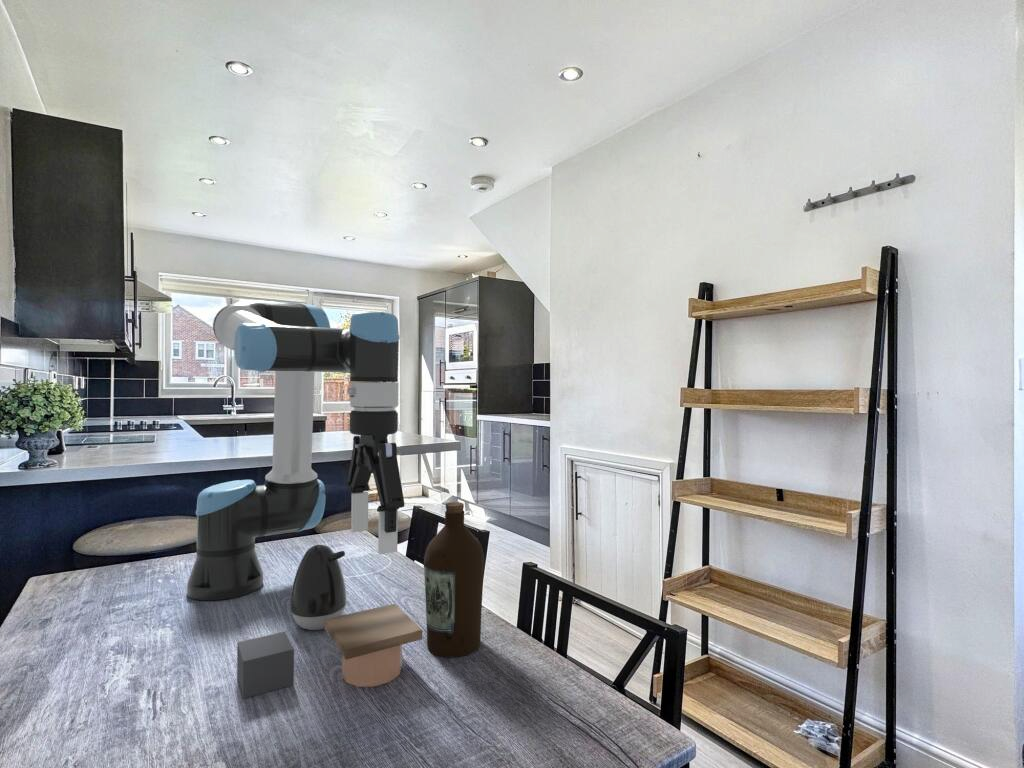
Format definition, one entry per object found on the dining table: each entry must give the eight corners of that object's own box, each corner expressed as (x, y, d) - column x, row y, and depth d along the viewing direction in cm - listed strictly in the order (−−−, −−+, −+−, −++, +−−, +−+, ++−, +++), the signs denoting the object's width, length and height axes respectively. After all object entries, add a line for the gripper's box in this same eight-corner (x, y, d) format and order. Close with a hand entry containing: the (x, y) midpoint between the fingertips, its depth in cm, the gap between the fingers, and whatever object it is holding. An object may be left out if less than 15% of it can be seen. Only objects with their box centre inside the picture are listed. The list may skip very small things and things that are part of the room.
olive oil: (451, 626, 105) (452, 495, 105) (495, 641, 98) (496, 502, 98) (410, 647, 96) (411, 505, 96) (456, 666, 90) (457, 513, 90)
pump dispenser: (329, 639, 99) (330, 555, 99) (278, 633, 101) (278, 551, 101) (356, 615, 109) (357, 539, 109) (309, 611, 111) (309, 536, 111)
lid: (324, 628, 90) (324, 619, 90) (394, 612, 96) (394, 603, 96) (345, 659, 80) (345, 649, 80) (422, 639, 86) (422, 629, 86)
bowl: (336, 666, 89) (336, 629, 89) (389, 652, 94) (389, 617, 94) (352, 692, 82) (353, 652, 82) (409, 675, 87) (409, 637, 87)
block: (237, 677, 86) (237, 642, 86) (284, 664, 90) (284, 631, 90) (243, 699, 80) (243, 661, 80) (293, 684, 84) (293, 649, 84)
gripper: (329, 405, 96) (328, 526, 97) (377, 414, 75) (376, 568, 76) (371, 405, 101) (370, 520, 101) (427, 413, 80) (426, 558, 80)
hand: (372, 541), depth 88 cm, fingers open, 13 cm apart
